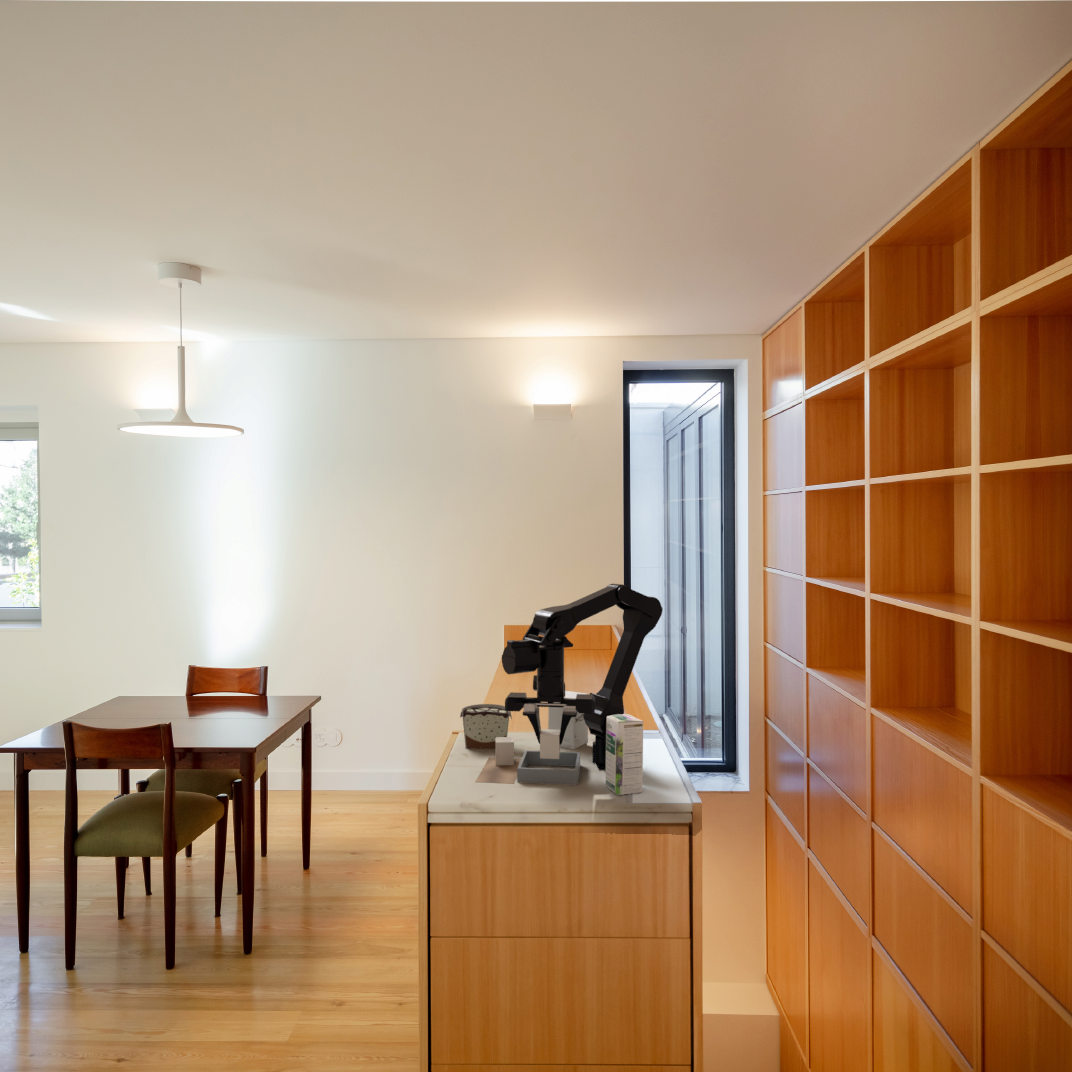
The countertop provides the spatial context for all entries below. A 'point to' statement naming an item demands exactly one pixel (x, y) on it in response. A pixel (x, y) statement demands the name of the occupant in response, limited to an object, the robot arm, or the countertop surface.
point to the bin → (549, 774)
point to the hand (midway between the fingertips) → (550, 743)
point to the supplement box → (569, 725)
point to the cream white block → (504, 751)
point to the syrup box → (624, 754)
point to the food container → (484, 725)
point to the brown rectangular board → (498, 772)
